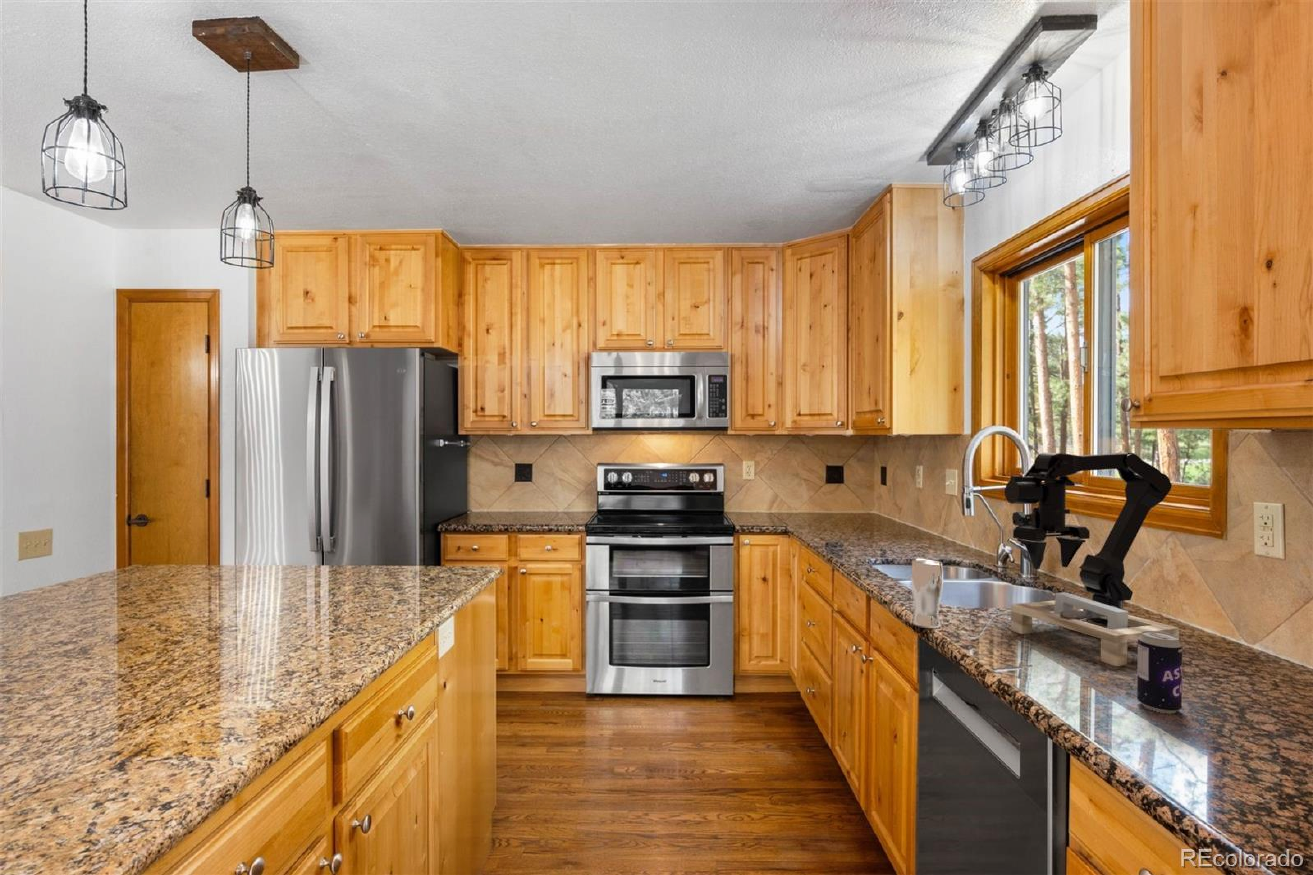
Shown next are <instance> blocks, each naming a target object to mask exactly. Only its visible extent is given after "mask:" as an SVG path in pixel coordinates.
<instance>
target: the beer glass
mask: <svg viewBox="0 0 1313 875" xmlns="http://www.w3.org/2000/svg"><path fill="white" fill-rule="evenodd" d="M911 561H912V562H911V563H912V564H911V576H910V578H911V579H910V580H911V581H910V582H911V585H910V586H911V593H912V598H913V604H914V613H913V618H912V624H913V625H914V626H915V627H918V628H924V629H940V628H941V620H940V614H939V612H940V604H941V599H942V594H943V588H944V569H943V562H942V561H939V560H937V559H936V560H935V559H929V558H928V559H927V558H916V559H912V560H911Z"/></svg>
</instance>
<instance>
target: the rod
mask: <svg viewBox="0 0 1313 875" xmlns="http://www.w3.org/2000/svg"><path fill="white" fill-rule="evenodd" d="M1112 607H1115V606H1112ZM1115 608H1117V607H1115ZM1060 617H1062V618H1066V619H1076V620H1077V619H1080V620H1085V619H1087V618H1095V617H1105V615H1102V614H1099V613H1095V612H1092V611H1089V610H1086V609H1078V610H1068V611H1062V612H1061V613H1060Z"/></svg>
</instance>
